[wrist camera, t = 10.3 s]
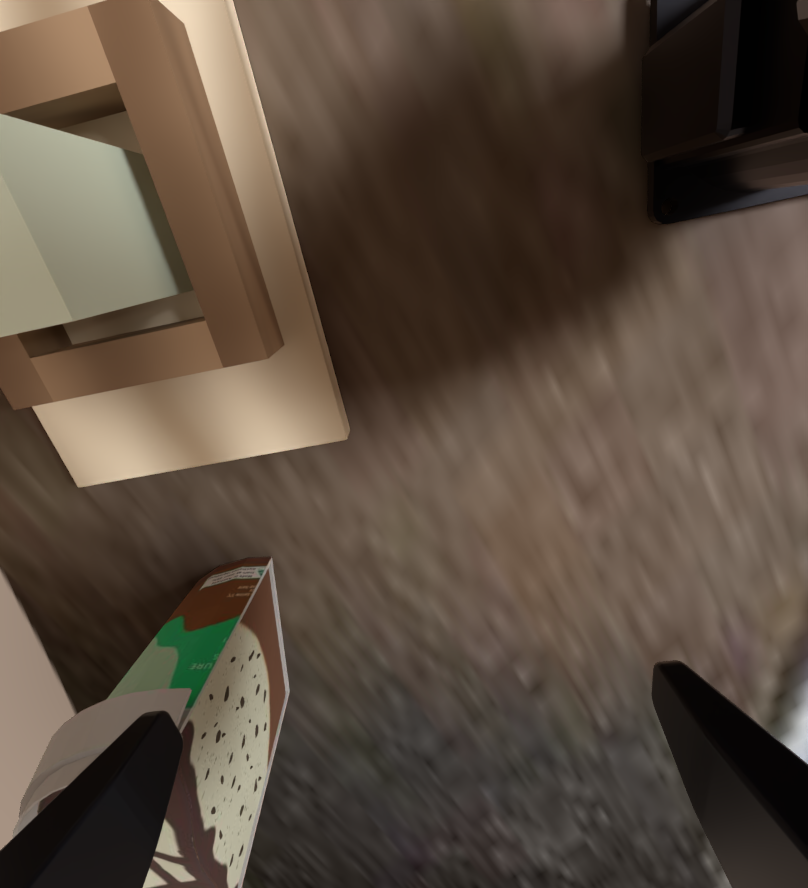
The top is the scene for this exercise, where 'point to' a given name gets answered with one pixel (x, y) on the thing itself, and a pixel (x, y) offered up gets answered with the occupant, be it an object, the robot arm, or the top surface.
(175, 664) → the food container
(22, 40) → the post base
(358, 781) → the top surface
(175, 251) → the pale green block
